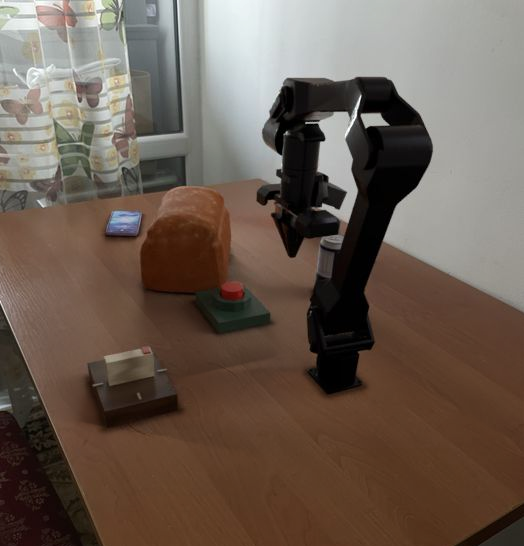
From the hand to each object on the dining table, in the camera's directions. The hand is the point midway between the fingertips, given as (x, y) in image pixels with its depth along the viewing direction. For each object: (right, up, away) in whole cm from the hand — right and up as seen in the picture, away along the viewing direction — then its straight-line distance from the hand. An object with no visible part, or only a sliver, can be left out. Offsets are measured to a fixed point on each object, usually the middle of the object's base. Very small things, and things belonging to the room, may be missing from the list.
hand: (291, 256), depth 95 cm
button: (-11, -6, +5) cm, 13 cm away
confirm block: (-11, -9, +7) cm, 16 cm away
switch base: (-24, -23, -14) cm, 36 cm away
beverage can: (+8, -5, +15) cm, 18 cm away
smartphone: (-39, +15, +40) cm, 58 cm away
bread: (-21, +1, +22) cm, 30 cm away
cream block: (-24, -20, -16) cm, 35 cm away
